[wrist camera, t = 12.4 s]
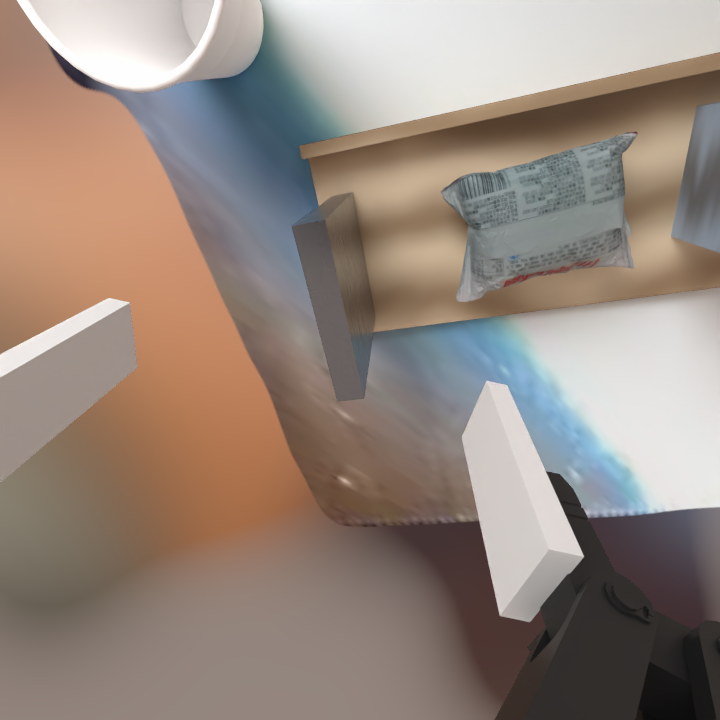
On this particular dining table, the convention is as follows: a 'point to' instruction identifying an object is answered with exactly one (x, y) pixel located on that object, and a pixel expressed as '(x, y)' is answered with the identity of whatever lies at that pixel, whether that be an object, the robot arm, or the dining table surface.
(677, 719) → the robot arm
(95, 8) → the cup
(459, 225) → the wooden book rack
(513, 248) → the packaged food
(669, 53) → the dining table surface
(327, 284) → the bookend
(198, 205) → the dining table surface
